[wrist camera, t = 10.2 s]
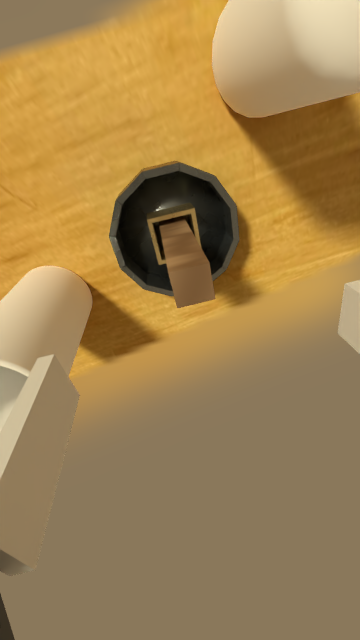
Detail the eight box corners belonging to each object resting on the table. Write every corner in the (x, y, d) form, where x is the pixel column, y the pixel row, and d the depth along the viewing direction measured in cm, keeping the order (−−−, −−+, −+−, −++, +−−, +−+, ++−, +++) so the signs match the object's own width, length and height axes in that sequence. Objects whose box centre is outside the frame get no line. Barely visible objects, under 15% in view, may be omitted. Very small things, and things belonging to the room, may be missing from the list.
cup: (102, 317, 34) (74, 426, 21) (41, 333, 34) (-26, 450, 21) (75, 257, 30) (16, 347, 16) (4, 275, 30) (-110, 378, 17)
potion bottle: (323, -3, 21) (783, -393, 6) (286, 127, 25) (494, 96, 10) (221, -33, 20) (476, -649, 4) (200, 109, 24) (293, 44, 9)
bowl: (134, 291, 33) (133, 305, 30) (96, 180, 26) (90, 184, 23) (234, 268, 32) (242, 280, 29) (221, 149, 26) (231, 149, 23)
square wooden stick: (164, 244, 30) (177, 308, 18) (158, 220, 28) (168, 273, 16) (187, 239, 29) (215, 299, 18) (182, 214, 28) (209, 262, 16)
